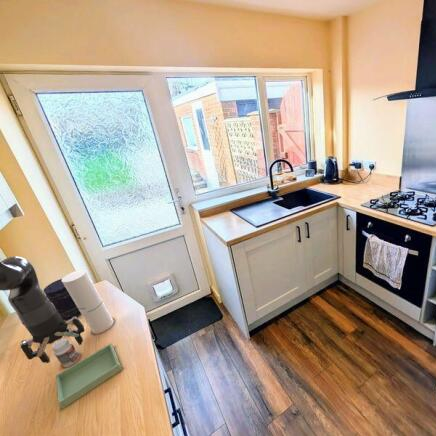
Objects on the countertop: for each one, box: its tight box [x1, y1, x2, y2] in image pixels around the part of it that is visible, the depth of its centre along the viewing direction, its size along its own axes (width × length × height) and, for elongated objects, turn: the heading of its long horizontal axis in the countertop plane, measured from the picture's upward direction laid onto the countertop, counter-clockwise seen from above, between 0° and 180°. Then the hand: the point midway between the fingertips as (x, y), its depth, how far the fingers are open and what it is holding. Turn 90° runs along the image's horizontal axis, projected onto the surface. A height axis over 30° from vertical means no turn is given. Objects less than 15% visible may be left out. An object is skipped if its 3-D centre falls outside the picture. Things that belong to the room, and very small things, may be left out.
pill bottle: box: [51, 338, 81, 368], centre depth 83 cm, size 5×5×8 cm
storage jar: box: [42, 278, 82, 321], centre depth 105 cm, size 10×10×15 cm
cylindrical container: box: [61, 269, 114, 335], centre depth 93 cm, size 7×7×25 cm
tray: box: [55, 343, 123, 409], centre depth 79 cm, size 15×12×2 cm
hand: (64, 352), depth 83 cm, fingers open, 8 cm apart
